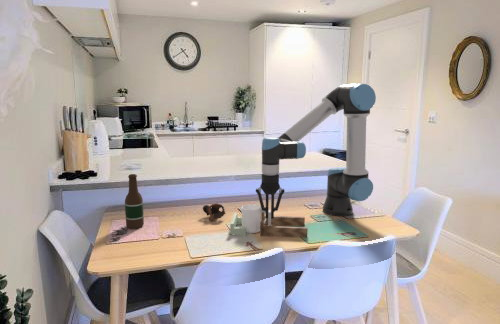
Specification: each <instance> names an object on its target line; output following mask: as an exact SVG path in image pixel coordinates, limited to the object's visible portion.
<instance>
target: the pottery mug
mask: <svg viewBox="0 0 500 324" xmlns="http://www.w3.org/2000/svg"><path fill="white" fill-rule="evenodd" d="M220 209H221V210H220ZM202 210H203V212H204V213H205V214H206V216H207V217H208V216H210V217H209V221H211V222H213V221H215V220H218V219H222V218H223V217H224V216H225V215H227V214H226V211H225V210H226V209H225V207H224V206H223V204H220V203H212V204H211V205H208V204H205V205H203V207H202Z"/></svg>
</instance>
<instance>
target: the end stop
mask: <svg viewBox="0 0 500 324" xmlns="http://www.w3.org/2000/svg"><path fill="white" fill-rule="evenodd" d="M236 225H237V226H236ZM238 225H242V216H238V212H233V215H232V218H231V221H230V225H229V226H230V229H229V231H230V232H229V233H230V234H235V235H234V236H246V234H247V233H246V228H245V227H242V226H240V227H239V226H238ZM230 234H229V235H230Z"/></svg>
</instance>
